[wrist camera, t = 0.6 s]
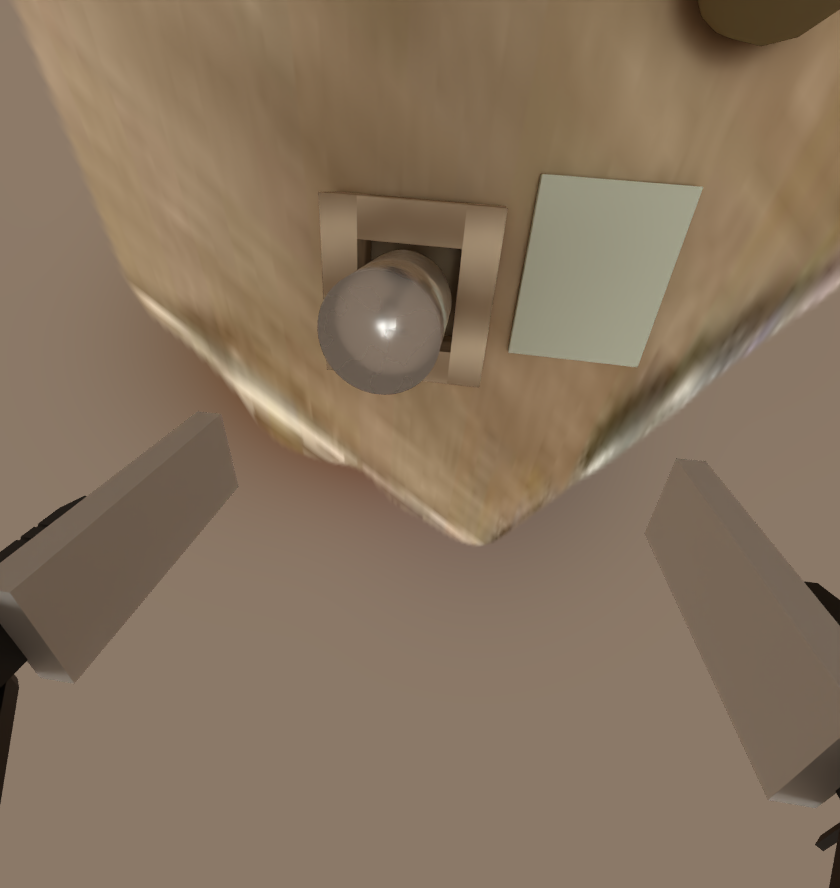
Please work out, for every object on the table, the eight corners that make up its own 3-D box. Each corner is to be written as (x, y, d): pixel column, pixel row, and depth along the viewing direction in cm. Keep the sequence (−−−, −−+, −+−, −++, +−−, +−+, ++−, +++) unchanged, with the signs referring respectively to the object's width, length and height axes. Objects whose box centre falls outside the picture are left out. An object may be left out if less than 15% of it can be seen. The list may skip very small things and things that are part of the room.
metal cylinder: (374, 237, 31) (313, 263, 20) (460, 245, 31) (446, 277, 20) (373, 324, 35) (320, 387, 24) (451, 333, 34) (434, 401, 23)
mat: (540, 174, 28) (542, 173, 27) (696, 186, 27) (703, 186, 26) (507, 348, 34) (508, 352, 33) (633, 362, 33) (637, 367, 33)
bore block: (337, 191, 30) (318, 192, 27) (505, 206, 29) (507, 208, 26) (341, 352, 36) (326, 369, 33) (480, 368, 35) (479, 387, 32)
